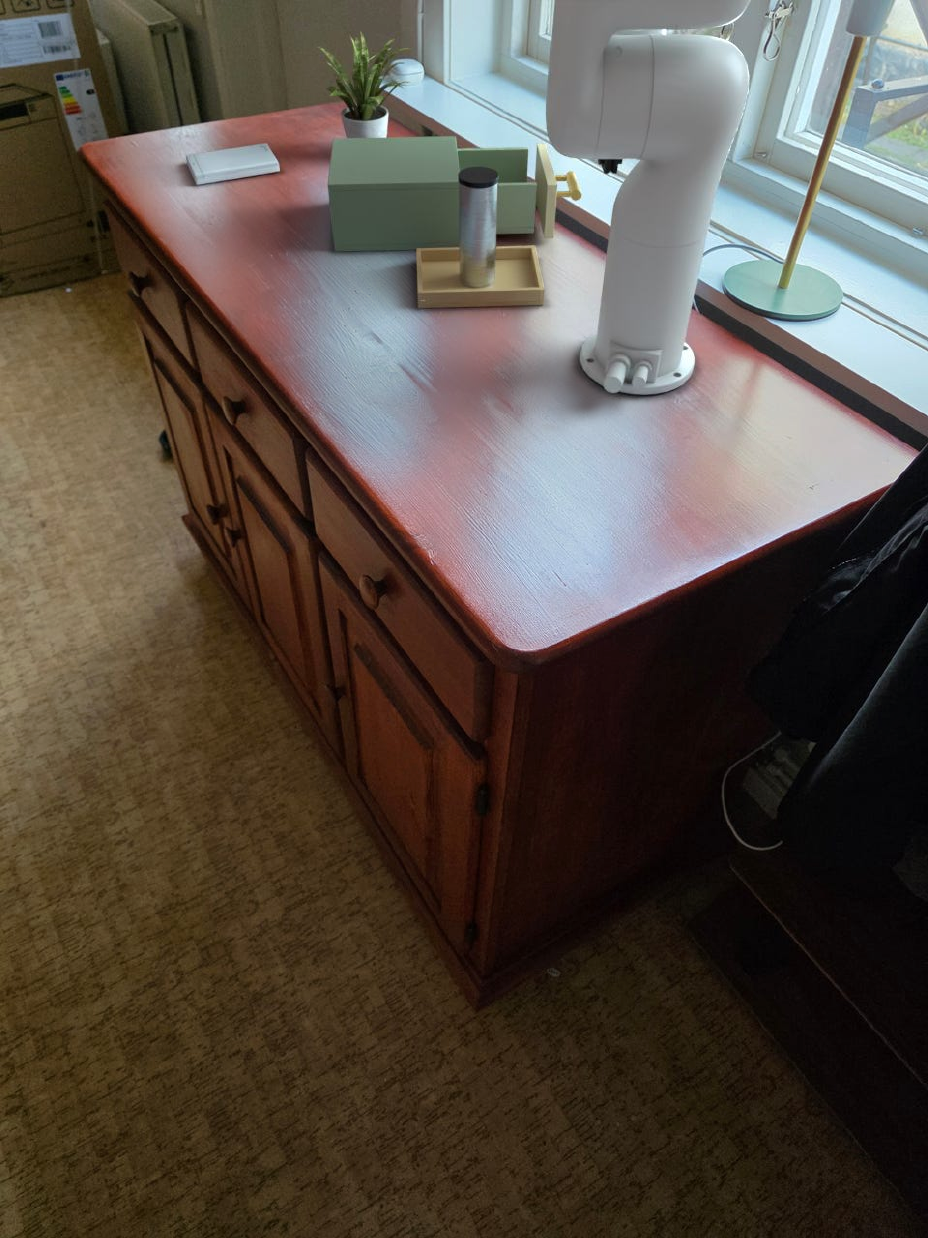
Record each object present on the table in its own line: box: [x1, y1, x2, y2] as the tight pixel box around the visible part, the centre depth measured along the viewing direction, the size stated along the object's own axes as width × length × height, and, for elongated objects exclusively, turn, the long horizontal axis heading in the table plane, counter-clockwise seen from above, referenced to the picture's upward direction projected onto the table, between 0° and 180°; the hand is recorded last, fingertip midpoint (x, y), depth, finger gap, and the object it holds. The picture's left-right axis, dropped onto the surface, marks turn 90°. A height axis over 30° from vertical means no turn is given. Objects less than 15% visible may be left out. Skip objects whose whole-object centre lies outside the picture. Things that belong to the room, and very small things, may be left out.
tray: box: [415, 245, 546, 309], centre depth 110 cm, size 15×11×2 cm
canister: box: [458, 167, 499, 288], centre depth 106 cm, size 5×5×13 cm
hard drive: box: [185, 142, 281, 186], centre depth 133 cm, size 2×8×12 cm
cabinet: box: [327, 135, 460, 253], centre depth 118 cm, size 17×15×9 cm
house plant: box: [314, 31, 413, 138], centre depth 130 cm, size 14×14×16 cm
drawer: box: [457, 142, 583, 239], centre depth 119 cm, size 19×13×7 cm
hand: (608, 169), depth 118 cm, fingers closed
